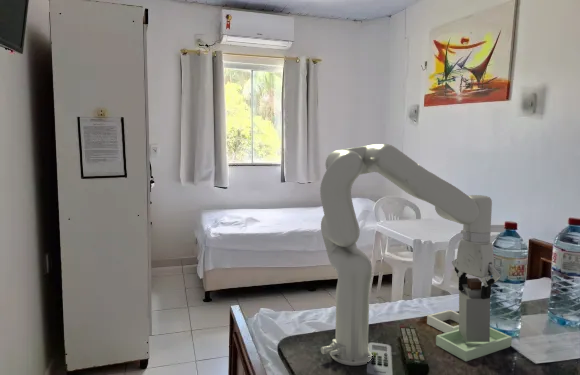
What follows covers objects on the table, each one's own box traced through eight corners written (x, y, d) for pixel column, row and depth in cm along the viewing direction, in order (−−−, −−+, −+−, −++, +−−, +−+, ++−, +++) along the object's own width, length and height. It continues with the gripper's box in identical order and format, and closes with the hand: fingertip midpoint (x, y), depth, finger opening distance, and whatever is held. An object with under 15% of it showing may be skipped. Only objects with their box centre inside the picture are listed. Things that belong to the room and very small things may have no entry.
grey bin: (452, 336, 132) (453, 328, 132) (427, 323, 142) (427, 315, 141) (476, 330, 137) (476, 321, 137) (449, 317, 147) (450, 309, 146)
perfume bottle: (481, 330, 129) (481, 276, 127) (489, 341, 122) (490, 284, 120) (458, 331, 130) (459, 276, 127) (466, 341, 123) (466, 284, 121)
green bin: (465, 361, 117) (466, 351, 116) (435, 344, 127) (436, 335, 126) (511, 346, 126) (511, 336, 125) (480, 331, 136) (480, 323, 135)
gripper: (444, 232, 128) (442, 287, 130) (494, 244, 113) (491, 306, 115) (461, 230, 132) (459, 283, 134) (511, 241, 116) (508, 301, 118)
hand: (473, 293), depth 124 cm, fingers closed on perfume bottle, 7 cm apart
